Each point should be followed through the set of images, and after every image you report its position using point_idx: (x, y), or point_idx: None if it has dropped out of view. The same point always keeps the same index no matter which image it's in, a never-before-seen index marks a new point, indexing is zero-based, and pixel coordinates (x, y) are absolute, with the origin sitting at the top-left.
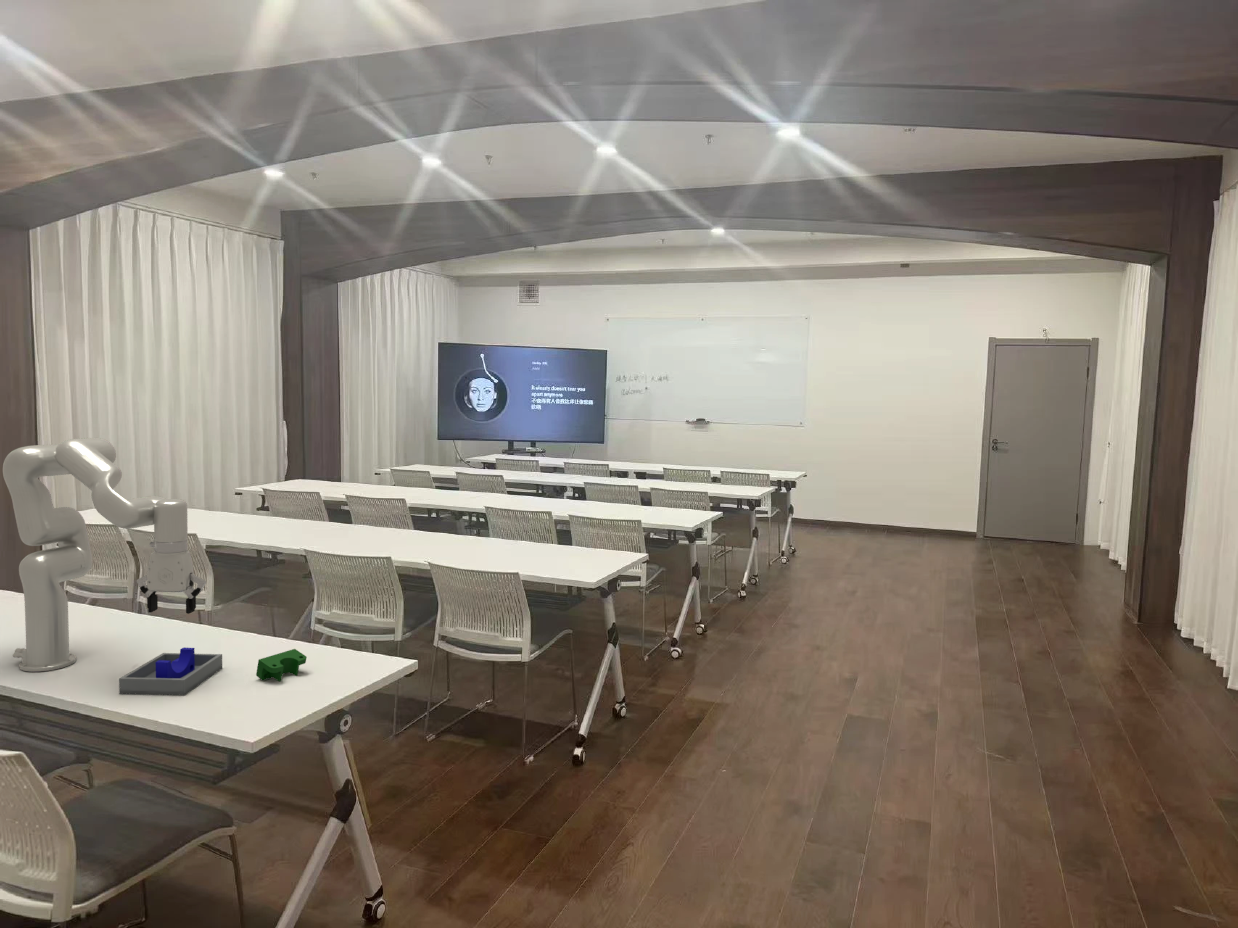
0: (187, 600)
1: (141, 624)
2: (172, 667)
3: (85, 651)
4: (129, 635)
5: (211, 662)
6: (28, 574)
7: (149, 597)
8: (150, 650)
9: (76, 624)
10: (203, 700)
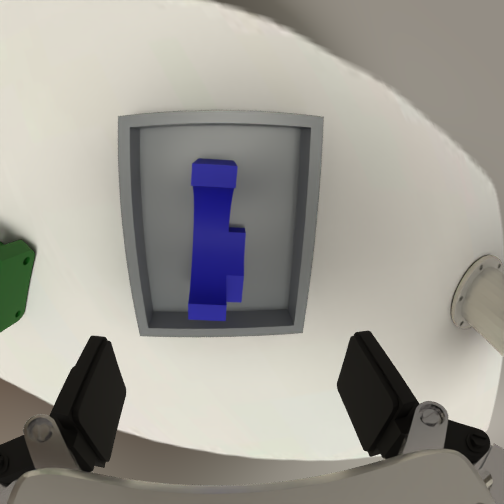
0: (65, 403)
1: None
2: (233, 253)
3: (443, 352)
4: None
5: (130, 279)
6: None
7: (407, 405)
8: None
9: (453, 413)
10: (76, 99)
